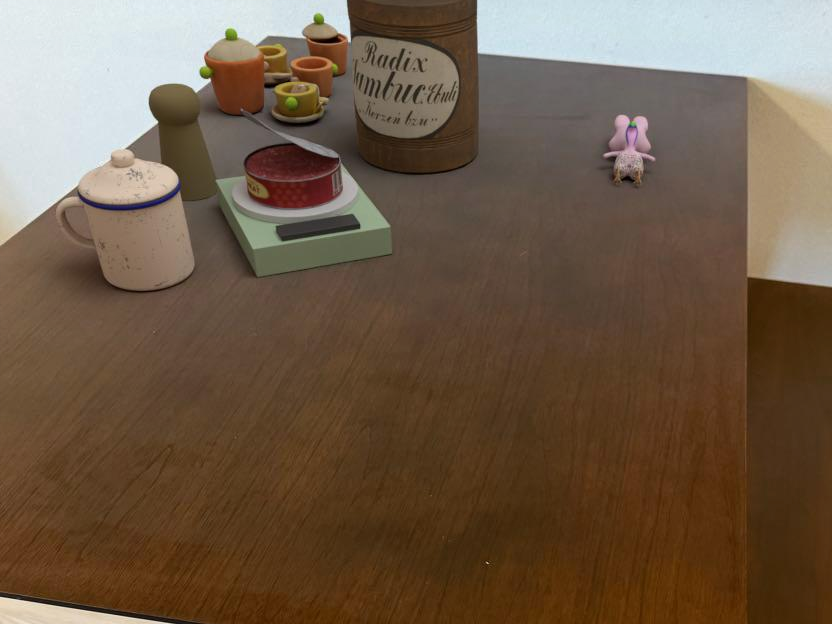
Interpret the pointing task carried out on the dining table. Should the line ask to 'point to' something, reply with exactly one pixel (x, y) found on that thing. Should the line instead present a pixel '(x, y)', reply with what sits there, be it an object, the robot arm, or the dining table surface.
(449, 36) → the wooden container
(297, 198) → the canned food
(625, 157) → the pink plush toy
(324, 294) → the dining table surface
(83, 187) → the teacup with lid
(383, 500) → the dining table surface
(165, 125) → the pepper mill
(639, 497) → the dining table surface
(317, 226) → the kitchen scale
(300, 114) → the toy tea set
